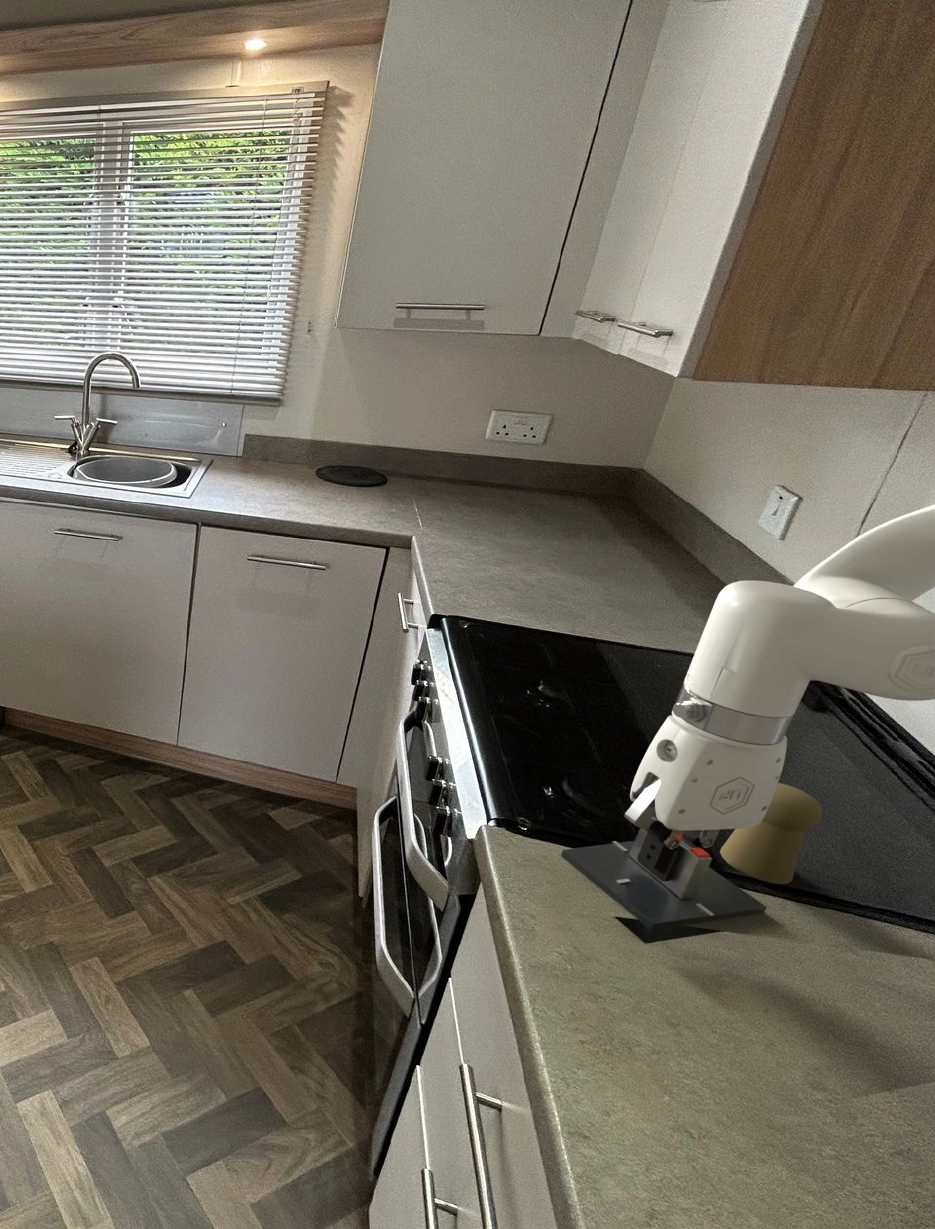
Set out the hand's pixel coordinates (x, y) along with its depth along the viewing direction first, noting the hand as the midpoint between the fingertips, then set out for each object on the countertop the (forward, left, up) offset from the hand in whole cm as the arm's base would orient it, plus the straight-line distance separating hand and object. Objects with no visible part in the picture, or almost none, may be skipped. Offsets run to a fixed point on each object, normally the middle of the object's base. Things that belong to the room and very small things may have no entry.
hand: (663, 869), depth 76 cm
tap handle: (0, 0, -1) cm, 1 cm away
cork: (-12, -5, -4) cm, 14 cm away
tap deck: (0, 0, -3) cm, 3 cm away
